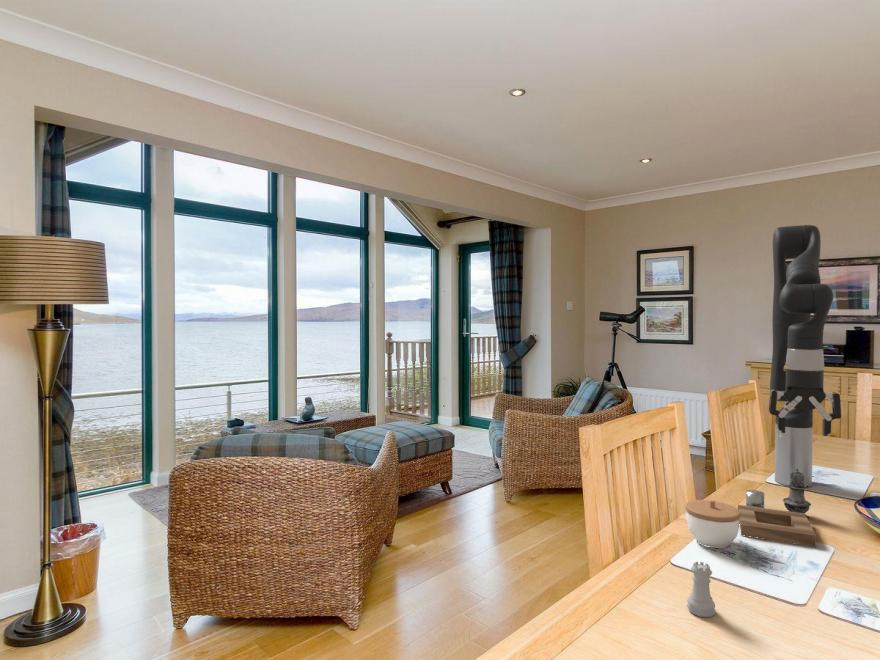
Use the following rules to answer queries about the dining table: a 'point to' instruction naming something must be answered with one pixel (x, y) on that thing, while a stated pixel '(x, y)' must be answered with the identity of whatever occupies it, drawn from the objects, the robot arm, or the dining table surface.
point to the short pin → (755, 498)
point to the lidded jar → (712, 522)
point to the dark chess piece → (797, 494)
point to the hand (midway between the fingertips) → (803, 433)
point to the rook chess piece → (701, 592)
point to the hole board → (794, 534)
